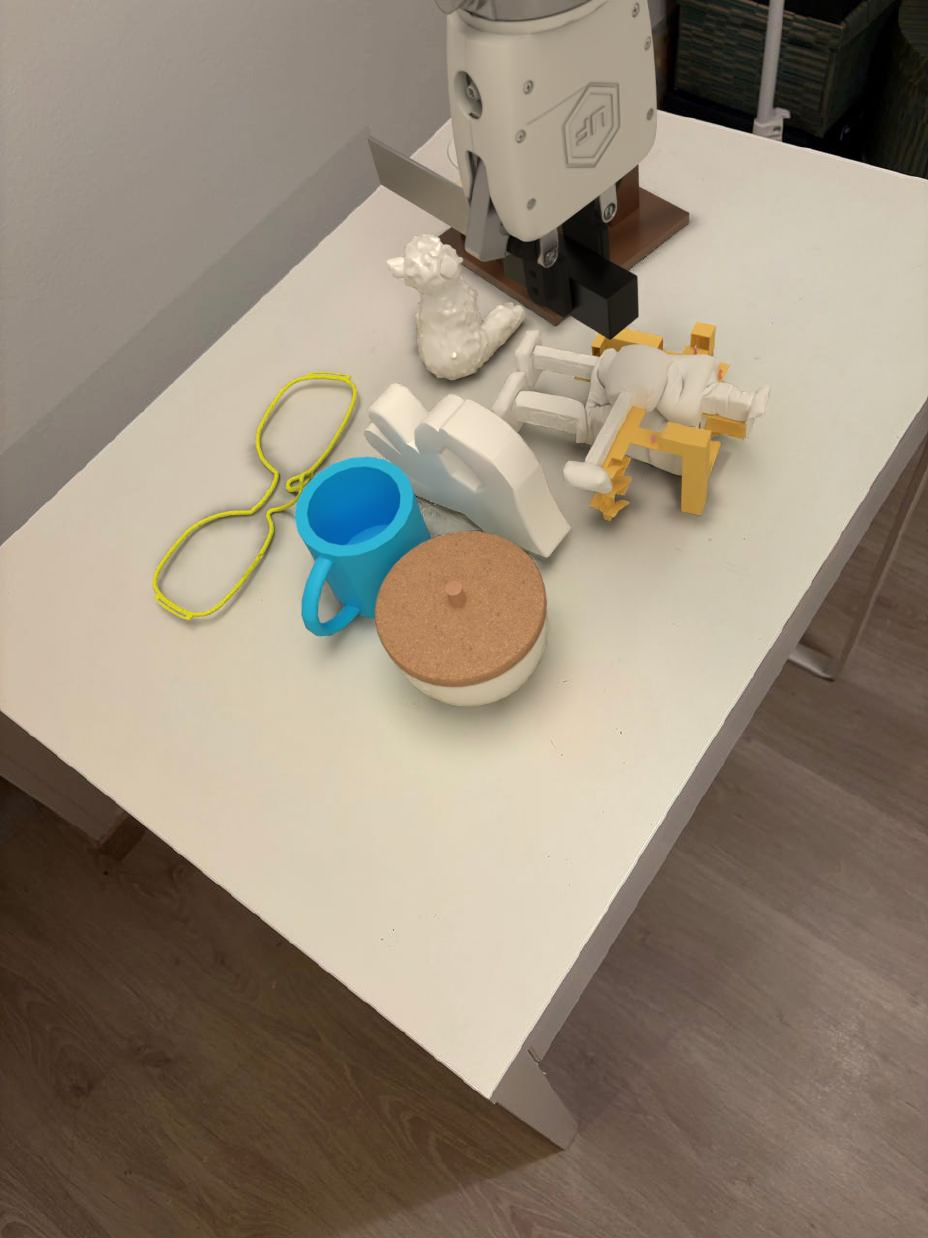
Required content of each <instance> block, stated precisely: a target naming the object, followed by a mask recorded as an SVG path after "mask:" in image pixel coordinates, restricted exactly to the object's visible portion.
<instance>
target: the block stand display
mask: <svg viewBox="0 0 928 1238" xmlns="http://www.w3.org/2000/svg"><path fill="white" fill-rule="evenodd" d="M454 183H455V184H457V185H459V186H460V187H462V183H461V178H460V179H459V180H457V181H456V182H454ZM462 188H463V187H462ZM639 205H640V207H639V208H637V209H636V210H635V211H634V212H632V213H631V214H630V215H628V216H627V217H626V218H624V219H623V220H622V221H620V222H619V223H618V224H616V225H615V226H614V227H610V226H608V225H607V226H608V232H609V250H610V261H612V262H614V263H615V264H617V265H619V266H621V267H623V268H624V269H626V270H628V271H630V269H631V268H633V267H634V266H635V265H637V264H638V263H639V262H640V261H641V260H643V259H644V258H645V257H647V256H648V255H649V254H650V253H652V252H653V251H654V250H656V249H657V248H658V247H660V246H661V245H662V244H663V243H665V242H666V241H668V239H670V238H671V237H673V236H674V235H675V234H677V232H679V231H680V230H682V229H684V228H685V226H687V225H688V224H689V223H690V216H691V215H690V212H689V211H687V210H685V209H683V208H682V207H679V206H678V205H675V204H673V203H671V202H670V201H668V200H666V199H664V198H662V197H660V196H659V195H656V194H654V193H652V192H651V191H649V190H647V189H645V188H643V187H641V186H639ZM557 231H558V232H560V233H562V234H563V232H562V224H561V225H559V226H558V227H557ZM437 237H438V238H440V242H442V244H443V245H446V244H447V245H450V246H451V247H452V248H453V249H455V250H456V254H457V255H458V257H462V258H463V262H462V263H461V265H462V266H465V267H466V268H467V269H469V270H470V271H472V272H474V273H475V274H477V275H478V276H480V277H481V278H483V279H484V280H486V281H487V282H489V283H490V284H492V285H493V286H494V287H497V288H498V289H500V290H501V291H503V293H506V294H507V295H508V296H510V297H512V298H513V299H514V300H516V301H518V302H519V303H521V305H524V306H525V307H527V308H528V309H530V310H531V311H532V312H534V313H535V314H537V315H539V316H540V317H542V318H543V319H544V320H546V321H548V322H549V323H551V324H552V325H554V326H558V325H559V324H560V323H562V322H563V321H564V320H566V319H567V318H568V317H569V316H570V315H568V316H566V317H565V318H563V317H561V316H560V315H558V314H556V313H555V312H553V311H552V310H550V309H548V308H547V307H545V306H544V307H542V306H540V305H538V304H536V303H535V302H534V301H532V299H531V298H530V297H529V295H528V292H527V289H526V288H524V287H523V286H521V285H519V284H518V283H516V282H514V281H513V280H511V279H510V278H508V277H506V276H505V271H504V265H503V260H502V258H500V259H496V260H491V261H486V262H482V261H481V260H479V259H478V258H476V257H474V256H473V255H471V254H470V253H468V252H467V251H466V250H465V240H466V235H464V234H462V233H461V232H459V231H457V230H456V229H454V228H452V227H451V226H449V228H447V229H446V230H445V231H443V232H442V233H440V235H438V236H437Z"/></svg>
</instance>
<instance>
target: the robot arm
mask: <svg viewBox="0 0 928 1238" xmlns="http://www.w3.org/2000/svg"><path fill="white" fill-rule="evenodd" d="M648 2H649V1H648V0H434V3H435V4H436V6H437V8H438V9H439V10H440V11H441V13H442V14H444V15H446V67H447V68H446V70H447V86H448V100H449V110H450V119H451V127H452V135H453V136H452V137H453V143H454V150H455V155H456V156H455V157H456V163H457V167H458V173H459V178H460V179H461V183H462V187H463V191H464V194H465V198H466V201H467V203H468V206H469V208H470V214H469V220H468V227H467V233H466V240H465V250H466V251H467V252H468V253H470V254H471V255H473V256H474V257H476V258H478V259H479V260H481V261H482V262H486V261H491V260H496V259H500V258H505V257H506V256H507V255H514V256H515V257H518V258H521V259H522V262H523V268H524V275H525V281H526V288H527V292H528V295H529V297H530V298H531V299H532V301H534V302H535V303H536V304H538V305H540V306H542V307H544V306H545V307H547V308H548V309H550V310H552V311H553V312H555V313H556V314H558V315H560V316H561V317H563V318H565V317H566V316H568V315H569V314H570V313H571V312H572V301H571V291H570V282H569V278H570V272H569V262H568V259H567V258H566V257H565V256H564V255H562V254H561V253H559V246H558V232H557V227H558V226H559V225H561V224H562V232H563V235H565V236H567V237H569V238H571V239H572V240H574V241H576V242H578V243H579V244H581V245H583V246H585V247H587V248H588V249H590V250H592V251H594V252H596V253H597V254H599V255H601V256H603V257H605V258H606V259H608V260H610V250H609V232H608V226H607V222H609V221H610V220H611V219H612V218H613V217H614V215H615V213H616V210H617V198H616V192H617V190H618V188H619V186H620V184H621V181H622V179H623V177H624V175H626V174H627V173H628V172H629V171H631V170H632V169H633V168H634V167H635V166H637V165H638V164H639V165H640V164H641V162H642V161H643V160H644V159H646V158H647V156H648V154H649V153H651V152H650V151H651V150H652V148H654V145H655V141H656V137H657V130H658V129H657V128H658V104H657V103H658V101H657V83H656V82H657V81H656V80H657V79H656V65H655V52H654V51H655V50H654V41H653V32H652V23H651V17H650V16H651V15H650V10H649V4H648ZM569 316H570V315H569ZM569 316H568V317H569ZM565 319H566V318H565Z"/></svg>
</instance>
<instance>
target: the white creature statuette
mask: <svg viewBox="0 0 928 1238" xmlns="http://www.w3.org/2000/svg"><path fill="white" fill-rule="evenodd" d="M462 262H463V258H462V257H458V255H457V254H456V250H455V249H453V248H452V247H451V246H450V245H447V244H446V245H443V244H442V242H440V238H438V236H435V235H434V234H433V233H429V234H427V233H422V234H421V235H413V236H412V239H410V241H409V242H407V243H406V245H405V247H404V249H403V250H402V256H396V257H391V258H388V259H387V260H386V262H385V263H386V266H387V267H388V269H389V271H390V273H391V275H392V277H393V278H395V279H403V280H404V286H405V287H411V288H412V289H415V290H416V291H417V292H418V293H419V294H420V300H419V301H418V302H417V305H418V306H417V311H416V313H415V314H414V319H415V322H416V329H417V331H416V332H417V336H416V343H417V347H418V350H417V352H418V353H419V359H420V361H421V362H423V363H424V365H425V368H426V370H427V371H428V372H430V373H432V374H433V375H434V376H435V377H436V378H437V379H447V380H449V381H456V380H457V379H460V378H466V377H468V376H472V375H475V374H476V373H477V372H478V370H479V369H482V367H483V365H484V363H486V362H488V361H489V360H490V358H491V357H493V356H494V353H495V352H496V351H497V350H498V349H499V348H501V347H502V346H503V345H505V344H506V342H507V340H508V339H510V337H511V336H512V335H513V334H514V333H515V332H516V330H518V328H519V327H520V326H521V325H522V324H523V321H524V319H525V318H526V311H525V309H524V308H523V306H522V305H519V304H516V305H515V304H514V303H513V302H511V301H509V302H505V303H501V304H497V305H496V307H494V309H492V310H490V311H489V313H488V315H487V316H486V317H485V318H484V320H483V315H482V314H481V312H480V308H479V306H478V298H479V291H478V290H477V289H473V288H472V287H471V286H469V283H468V282H466V279H465V277H464V276H462V272H463V271H464V265H463V264H462Z"/></svg>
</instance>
